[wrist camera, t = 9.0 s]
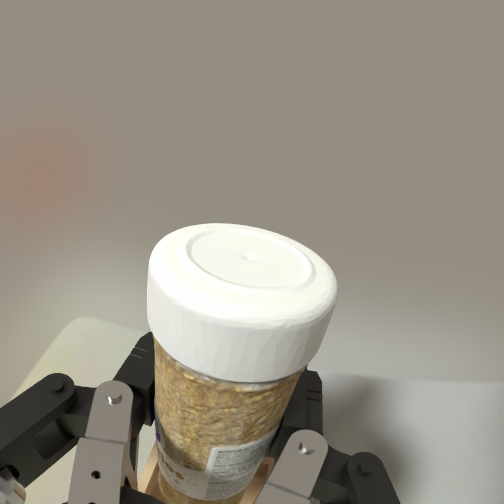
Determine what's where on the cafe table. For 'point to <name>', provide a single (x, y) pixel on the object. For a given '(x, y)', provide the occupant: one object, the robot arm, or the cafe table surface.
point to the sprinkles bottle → (228, 350)
